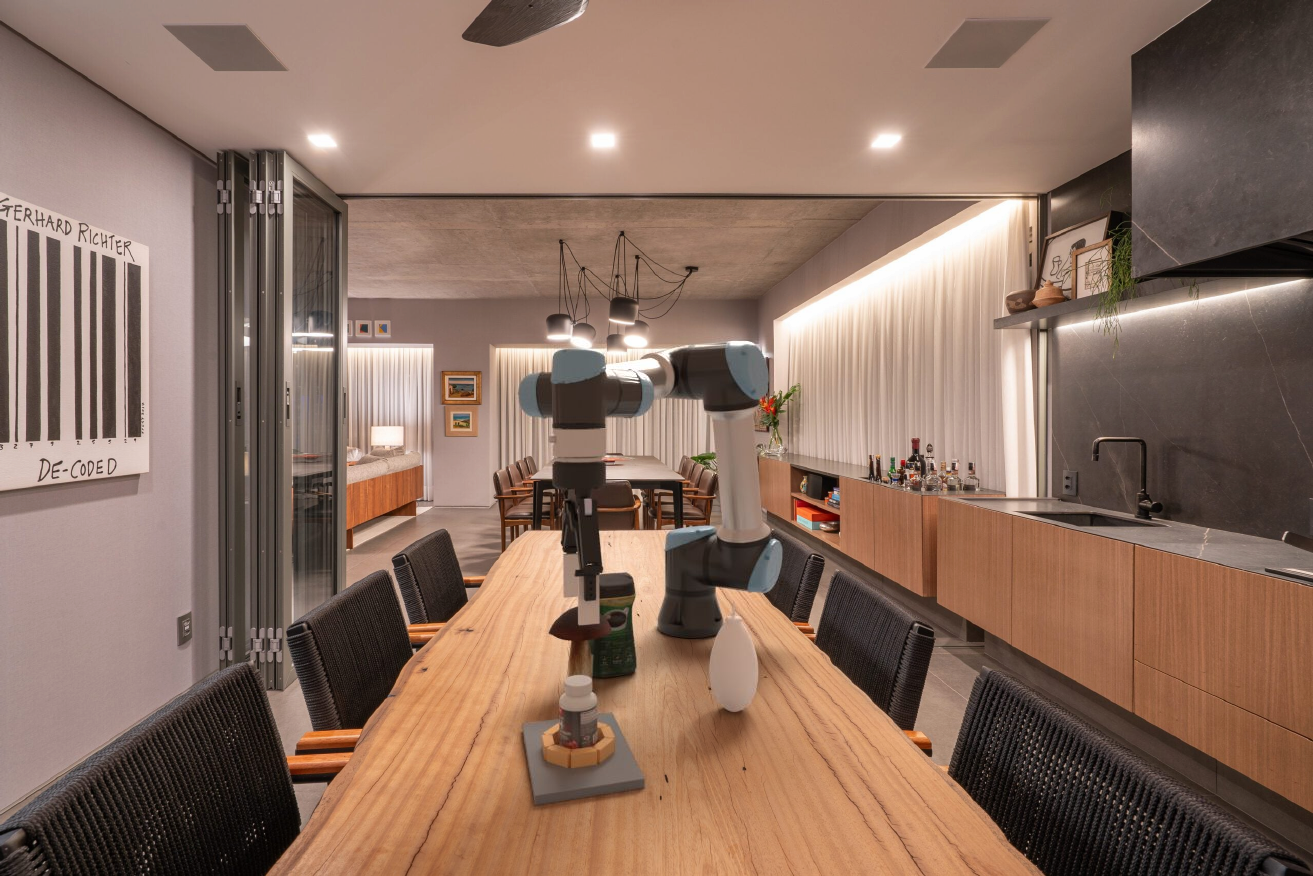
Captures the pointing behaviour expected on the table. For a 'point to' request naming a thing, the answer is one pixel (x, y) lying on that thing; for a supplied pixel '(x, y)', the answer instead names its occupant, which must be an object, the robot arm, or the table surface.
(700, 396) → the robot arm
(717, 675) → the sauce bottle
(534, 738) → the socket board
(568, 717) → the pill bottle
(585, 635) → the decorative mushroom
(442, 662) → the table surface
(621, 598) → the coffee jar
